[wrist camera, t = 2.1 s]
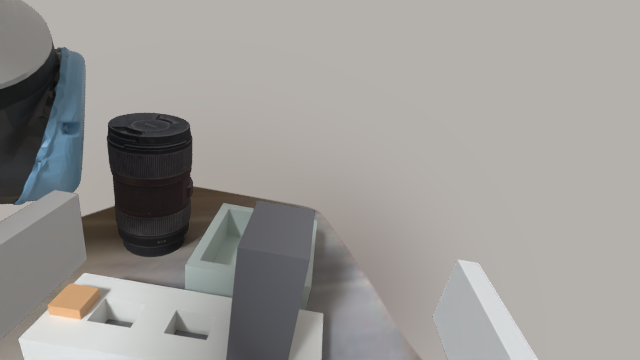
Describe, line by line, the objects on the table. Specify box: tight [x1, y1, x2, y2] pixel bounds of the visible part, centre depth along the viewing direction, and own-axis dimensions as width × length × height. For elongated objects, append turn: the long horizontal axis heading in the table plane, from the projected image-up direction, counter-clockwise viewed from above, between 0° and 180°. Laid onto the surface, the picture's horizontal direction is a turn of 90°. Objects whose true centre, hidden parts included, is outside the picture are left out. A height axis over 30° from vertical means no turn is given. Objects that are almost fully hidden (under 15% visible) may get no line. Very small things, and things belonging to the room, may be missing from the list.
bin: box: [185, 203, 317, 310], centre depth 38 cm, size 12×12×5 cm
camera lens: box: [107, 113, 193, 257], centre depth 38 cm, size 8×8×15 cm
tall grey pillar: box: [226, 200, 315, 360], centre depth 26 cm, size 4×6×13 cm
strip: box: [19, 273, 323, 360], centre depth 28 cm, size 22×7×4 cm, turn 87°
